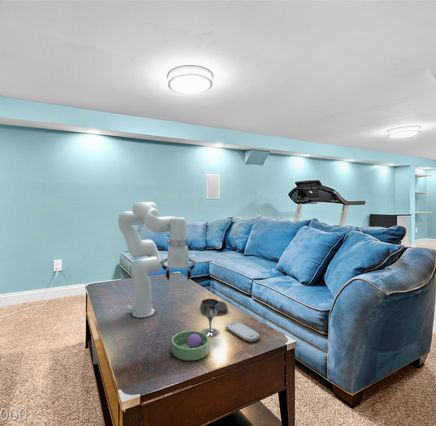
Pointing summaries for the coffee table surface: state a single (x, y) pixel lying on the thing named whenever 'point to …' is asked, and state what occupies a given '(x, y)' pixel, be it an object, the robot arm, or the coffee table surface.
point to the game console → (242, 331)
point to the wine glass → (210, 314)
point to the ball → (194, 341)
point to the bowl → (182, 348)
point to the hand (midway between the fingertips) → (178, 279)
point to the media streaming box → (220, 308)
